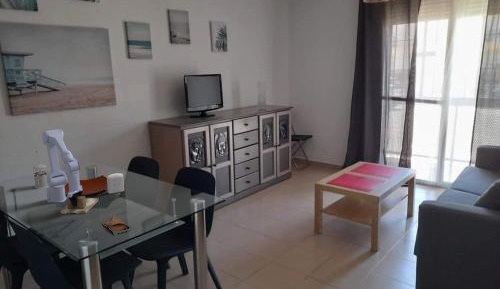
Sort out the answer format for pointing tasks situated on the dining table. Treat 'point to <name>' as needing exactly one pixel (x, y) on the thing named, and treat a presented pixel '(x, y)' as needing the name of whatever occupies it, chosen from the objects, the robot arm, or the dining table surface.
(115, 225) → the sunglasses case
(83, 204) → the block
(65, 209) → the board
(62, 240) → the dining table surface
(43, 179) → the french press
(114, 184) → the photo printer
